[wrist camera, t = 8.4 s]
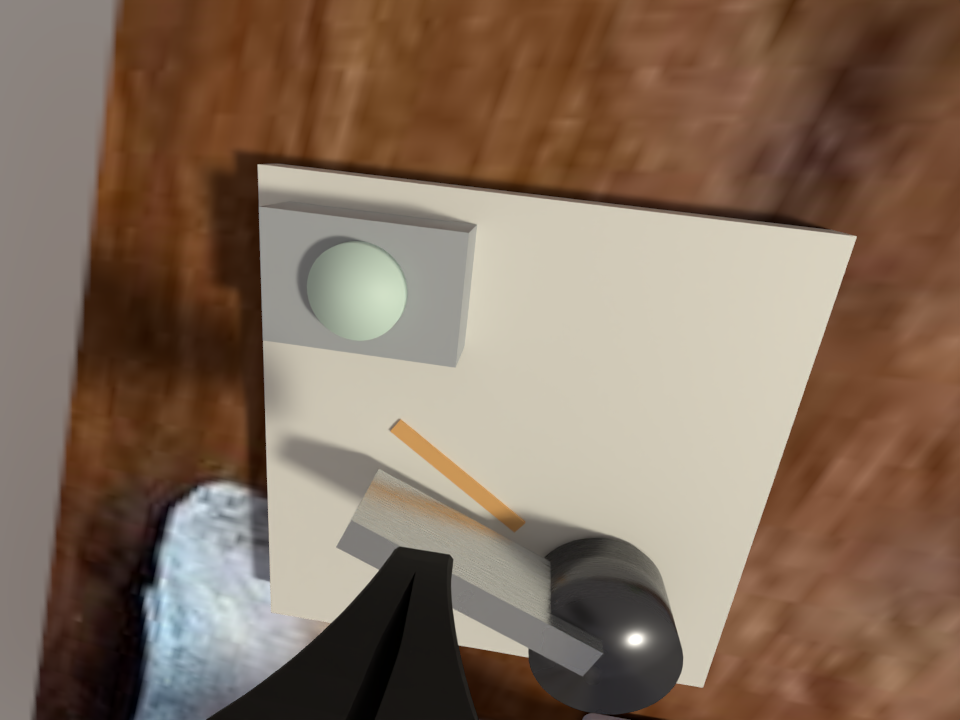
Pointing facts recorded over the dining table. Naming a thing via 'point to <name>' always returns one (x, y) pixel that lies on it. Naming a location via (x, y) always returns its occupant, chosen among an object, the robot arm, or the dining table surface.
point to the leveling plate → (530, 376)
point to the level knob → (540, 597)
